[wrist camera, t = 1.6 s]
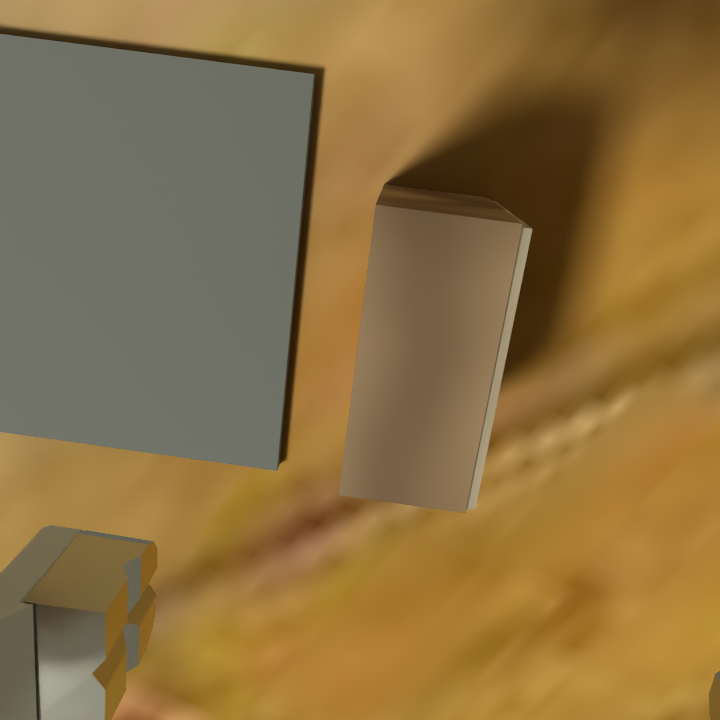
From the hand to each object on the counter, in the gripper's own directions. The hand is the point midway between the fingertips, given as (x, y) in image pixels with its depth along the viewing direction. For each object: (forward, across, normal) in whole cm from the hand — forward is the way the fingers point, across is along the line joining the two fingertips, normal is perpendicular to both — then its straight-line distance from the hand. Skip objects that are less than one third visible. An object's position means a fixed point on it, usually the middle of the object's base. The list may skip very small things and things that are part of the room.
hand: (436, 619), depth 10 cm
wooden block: (+19, 0, 0) cm, 19 cm away
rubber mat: (+19, +12, 0) cm, 22 cm away
